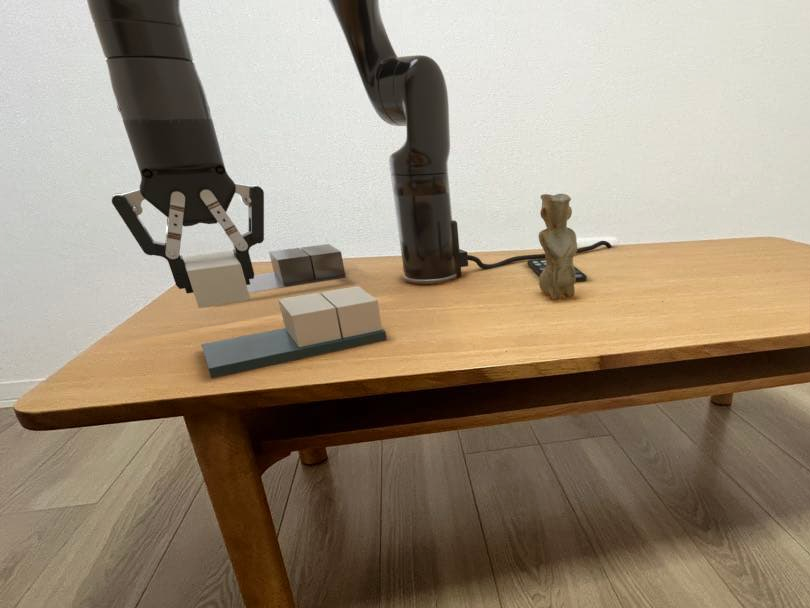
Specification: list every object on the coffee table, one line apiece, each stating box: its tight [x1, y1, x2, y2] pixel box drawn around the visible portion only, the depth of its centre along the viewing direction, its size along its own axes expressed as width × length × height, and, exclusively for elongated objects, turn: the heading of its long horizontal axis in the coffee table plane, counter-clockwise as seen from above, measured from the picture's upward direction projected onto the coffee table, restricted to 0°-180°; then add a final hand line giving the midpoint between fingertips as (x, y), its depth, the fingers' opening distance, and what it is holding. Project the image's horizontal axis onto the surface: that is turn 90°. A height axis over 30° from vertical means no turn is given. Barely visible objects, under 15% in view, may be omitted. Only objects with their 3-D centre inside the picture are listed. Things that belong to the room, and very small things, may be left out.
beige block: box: [182, 250, 251, 309], centre depth 60 cm, size 5×8×4 cm, turn 34°
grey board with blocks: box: [247, 243, 349, 294], centre depth 92 cm, size 20×12×5 cm, turn 124°
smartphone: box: [526, 259, 588, 282], centre depth 98 cm, size 7×1×15 cm
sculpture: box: [538, 193, 578, 300], centre depth 82 cm, size 6×7×15 cm
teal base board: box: [200, 285, 388, 379], centre depth 66 cm, size 20×9×5 cm, turn 124°
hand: (218, 286), depth 60 cm, fingers closed on beige block, 5 cm apart
